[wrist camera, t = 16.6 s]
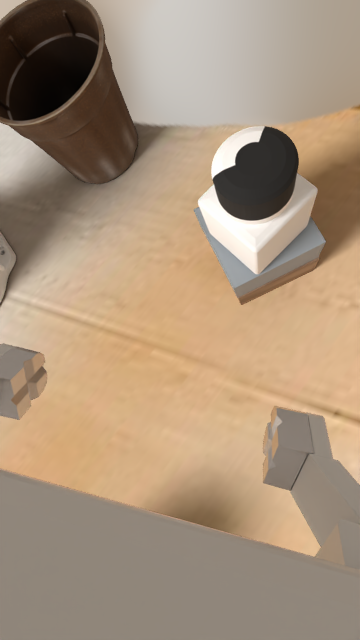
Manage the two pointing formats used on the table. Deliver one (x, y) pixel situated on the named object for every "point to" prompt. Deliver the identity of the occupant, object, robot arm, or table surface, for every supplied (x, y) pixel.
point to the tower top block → (289, 259)
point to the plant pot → (65, 88)
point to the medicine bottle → (257, 196)
